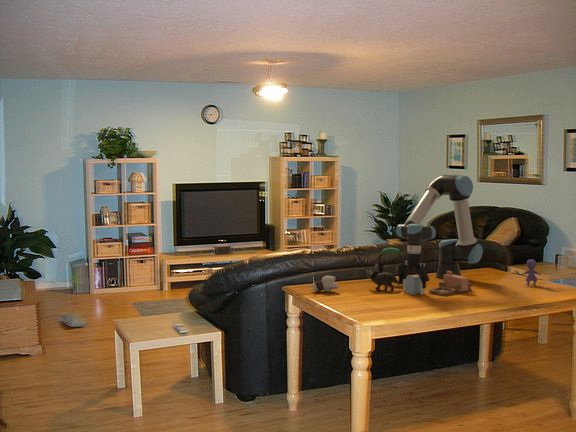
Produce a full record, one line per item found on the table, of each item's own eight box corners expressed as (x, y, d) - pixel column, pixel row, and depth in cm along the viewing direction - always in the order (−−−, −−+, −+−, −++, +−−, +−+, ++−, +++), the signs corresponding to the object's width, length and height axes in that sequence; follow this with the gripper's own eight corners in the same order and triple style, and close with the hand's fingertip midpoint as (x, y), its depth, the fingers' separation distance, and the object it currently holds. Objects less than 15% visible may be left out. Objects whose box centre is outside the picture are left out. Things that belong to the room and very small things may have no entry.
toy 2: (546, 284, 378) (546, 258, 376) (549, 286, 372) (549, 260, 371) (513, 284, 380) (513, 258, 378) (515, 286, 374) (516, 260, 373)
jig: (426, 292, 359) (426, 284, 358) (450, 287, 373) (450, 279, 372) (447, 296, 348) (447, 288, 348) (471, 290, 362) (471, 282, 362)
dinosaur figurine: (405, 289, 367) (405, 269, 366) (402, 292, 359) (402, 272, 358) (366, 287, 374) (366, 267, 373) (363, 290, 366) (363, 270, 365)
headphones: (407, 280, 395) (407, 247, 393) (407, 283, 384) (407, 249, 382) (375, 279, 398) (375, 246, 396) (374, 282, 387) (374, 249, 386)
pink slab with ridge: (443, 287, 368) (443, 271, 368) (449, 286, 371) (449, 270, 370) (461, 291, 356) (461, 274, 356) (468, 290, 359) (468, 274, 358)
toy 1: (314, 301, 358) (341, 295, 359) (312, 288, 354) (339, 281, 354) (310, 288, 369) (336, 282, 370) (307, 275, 365) (333, 269, 366)
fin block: (406, 293, 358) (406, 276, 357) (414, 291, 362) (414, 275, 361) (413, 294, 354) (413, 278, 353) (421, 292, 358) (421, 276, 358)
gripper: (392, 251, 363) (392, 290, 365) (427, 255, 345) (427, 296, 347) (401, 249, 367) (401, 288, 369) (436, 254, 350) (435, 294, 352)
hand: (413, 292), depth 358 cm, fingers open, 11 cm apart
